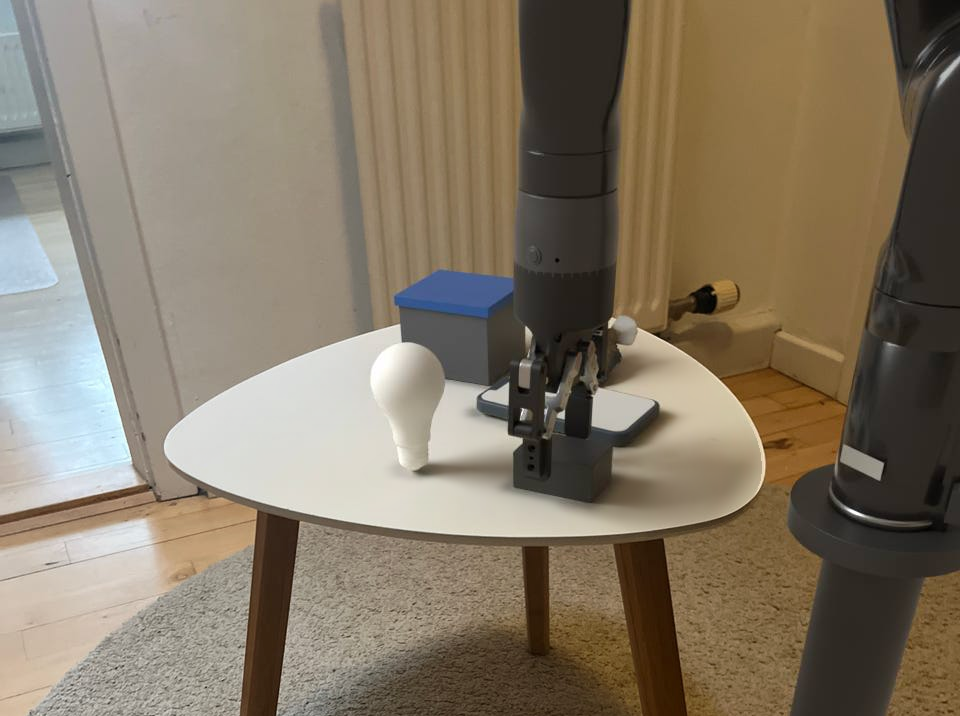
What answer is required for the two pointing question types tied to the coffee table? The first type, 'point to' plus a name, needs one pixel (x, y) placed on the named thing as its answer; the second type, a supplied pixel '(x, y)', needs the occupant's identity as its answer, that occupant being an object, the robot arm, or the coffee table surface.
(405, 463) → the lightbulb
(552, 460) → the case
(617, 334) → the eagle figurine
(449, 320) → the container
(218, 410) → the coffee table surface
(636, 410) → the smartphone
